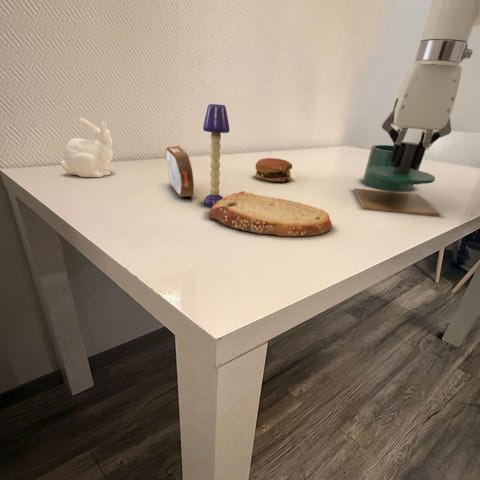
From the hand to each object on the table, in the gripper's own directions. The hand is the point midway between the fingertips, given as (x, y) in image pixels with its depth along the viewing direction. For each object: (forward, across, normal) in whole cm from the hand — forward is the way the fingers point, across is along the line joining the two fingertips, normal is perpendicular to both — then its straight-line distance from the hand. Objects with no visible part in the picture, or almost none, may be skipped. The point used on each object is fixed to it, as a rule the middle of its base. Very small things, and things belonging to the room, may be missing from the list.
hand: (403, 166), depth 70 cm
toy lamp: (+8, +37, +14) cm, 41 cm away
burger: (+8, +27, -12) cm, 31 cm away
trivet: (+8, 0, 0) cm, 8 cm away
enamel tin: (+7, -3, -17) cm, 19 cm away
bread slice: (+8, +26, +21) cm, 35 cm away
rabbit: (+8, +69, 0) cm, 70 cm away
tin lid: (+2, 0, 0) cm, 2 cm away
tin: (+8, +46, +8) cm, 48 cm away
